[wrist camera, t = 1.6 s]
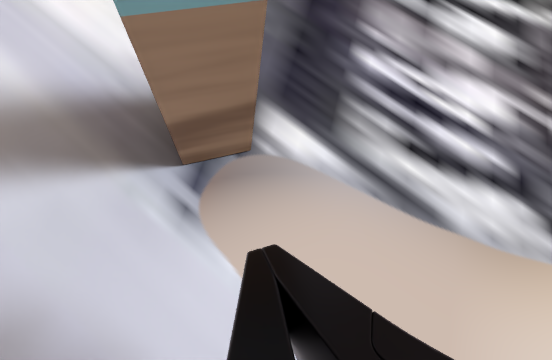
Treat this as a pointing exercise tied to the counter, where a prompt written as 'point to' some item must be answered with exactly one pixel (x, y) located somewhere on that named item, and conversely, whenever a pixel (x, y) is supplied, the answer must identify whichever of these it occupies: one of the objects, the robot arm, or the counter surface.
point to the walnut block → (200, 68)
